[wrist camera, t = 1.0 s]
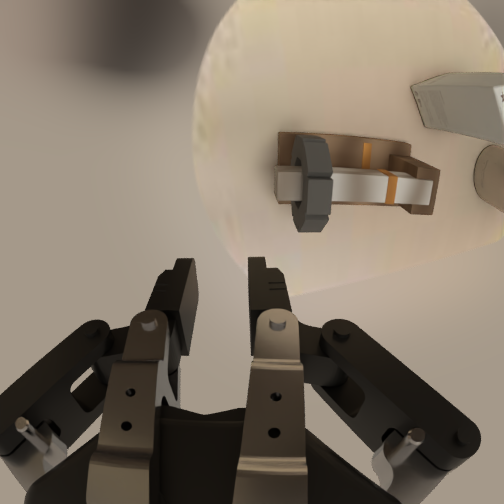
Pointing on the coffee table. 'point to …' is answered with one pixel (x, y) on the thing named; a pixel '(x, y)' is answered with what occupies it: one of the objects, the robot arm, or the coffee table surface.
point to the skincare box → (464, 104)
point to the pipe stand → (363, 173)
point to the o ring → (312, 183)
